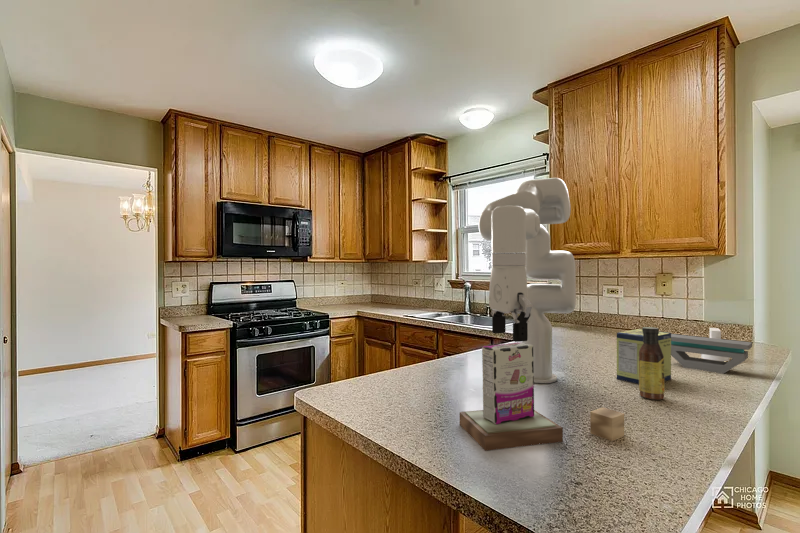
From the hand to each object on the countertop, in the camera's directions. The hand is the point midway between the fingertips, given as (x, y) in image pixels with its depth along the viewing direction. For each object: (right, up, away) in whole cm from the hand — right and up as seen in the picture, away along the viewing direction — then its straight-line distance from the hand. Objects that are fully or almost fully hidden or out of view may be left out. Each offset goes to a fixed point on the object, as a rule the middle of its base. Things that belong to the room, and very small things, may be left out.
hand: (509, 336), depth 93 cm
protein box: (+56, -22, +43) cm, 74 cm away
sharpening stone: (+87, -22, +57) cm, 106 cm away
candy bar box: (0, -19, 0) cm, 19 cm away
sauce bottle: (+47, -22, +24) cm, 57 cm away
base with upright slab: (+102, -22, +71) cm, 126 cm away
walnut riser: (0, -22, 0) cm, 22 cm away
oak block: (+22, -22, -1) cm, 31 cm away
